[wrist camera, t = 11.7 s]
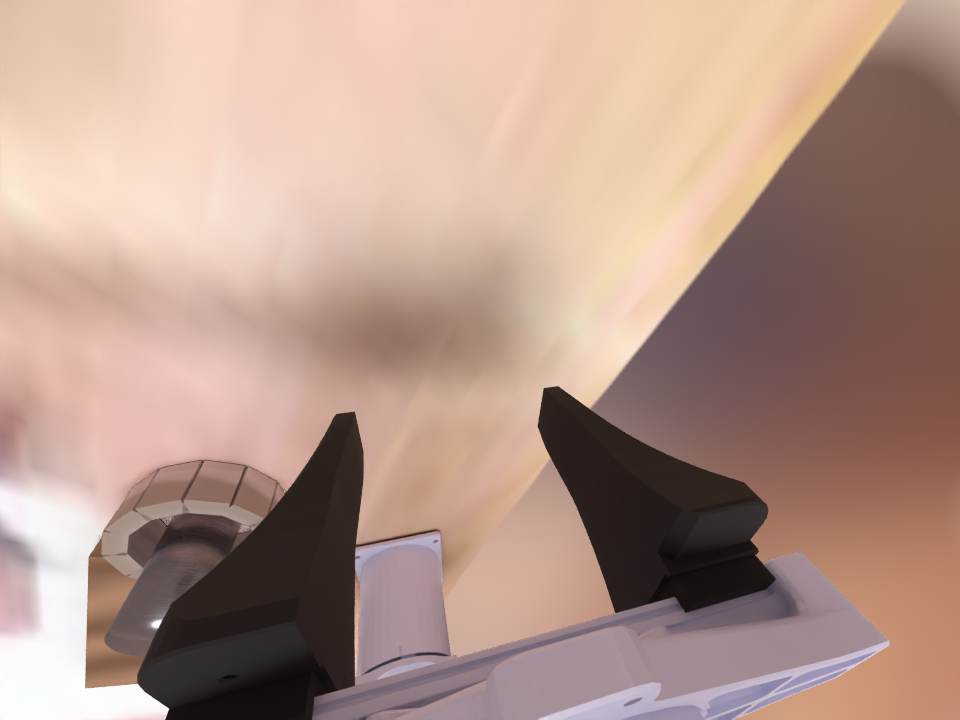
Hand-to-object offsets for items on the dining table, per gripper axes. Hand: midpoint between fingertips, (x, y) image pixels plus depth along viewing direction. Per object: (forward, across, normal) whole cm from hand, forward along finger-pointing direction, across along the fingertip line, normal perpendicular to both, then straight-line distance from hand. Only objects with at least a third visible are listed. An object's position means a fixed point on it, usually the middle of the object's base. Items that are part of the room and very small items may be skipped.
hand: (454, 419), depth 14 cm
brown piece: (+9, +20, +23) cm, 32 cm away
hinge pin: (+9, +16, +14) cm, 23 cm away
